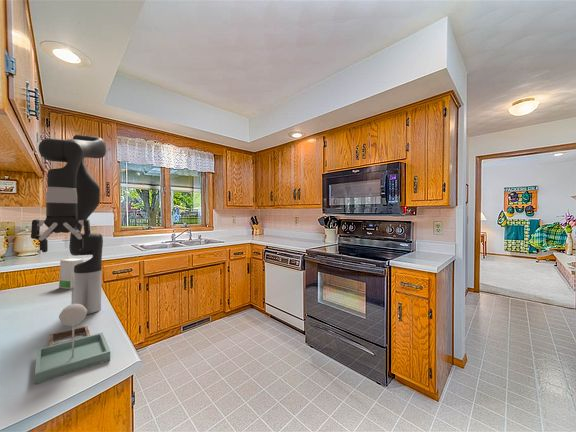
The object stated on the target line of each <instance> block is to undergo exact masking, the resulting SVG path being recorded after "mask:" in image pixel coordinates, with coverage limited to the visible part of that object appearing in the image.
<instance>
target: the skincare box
mask: <svg viewBox="0 0 576 432" xmlns="http://www.w3.org/2000/svg"><path fill="white" fill-rule="evenodd" d="M59 262H60V263H59V278H58V279H59V282H58V288H59V289H64V290H65V289H66V290H73V289H74V266H75V265H77V264H79V263H83V262H84V259H83V258H73V257H71V258H65V259H60V260H59Z"/></svg>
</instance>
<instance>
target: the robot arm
mask: <svg viewBox="0 0 576 432" xmlns="http://www.w3.org/2000/svg"><path fill="white" fill-rule="evenodd" d="M38 153H39V155H40V156H41V157H42V158H43V159H45V160H47V161H49V162H57V163H58V162H60V163H66V164H65V165H64V166H63V167H59V168H50V169H48V170H47V173H46V180H47V182H46V184H47V185H46V186H47V187H46V193H45V202H46V203H45V206H46V208H45V209H46V210H45V215H46V217H45V218H44V219H39V218H38V219H33V220H31V227H30V228H31V229H30V230H31V231H30V239H32V240H36V241H37V240H38V241H39V250H40V251H41V252H42V253H46V252H48V246H49V245H48V243H49V242H48V237H50V236H51V235H52V234H53V233H54V234H59V233H63V234H66V233H67V234H68V233H70V234H69V244H68V245H69V247H68V248H69V253H70V254H71V255H72V256H73V257H74V256H91V258H90V259H87V260H85V261H83V263H79V264H77V265H75V266H74V288H73V289H71V304H81V305H83V306H84V307H85V308H86V309H87V314H86V315H90V314H93V313H97V312H99V311H100V310H101V309H102V269H103V267H102V266H103V265H102V261H103V260H102V259H103V256H102V255H103V244H104V240H103V239H104V237H103V235H102V234H101V233H100V232H99V233H98V232H94V233H91V226H90V225H91V223H90V219H88V218H89V217H90V216H91V215H92V214H93V213H94V212H95V210H96V209H97V208H98V206H99V205H100V202H101V201H100V200H101V199H100V198H101V197H100V195H101V189H100V186H99V184H98V182H97V181H96V180H95V178H94V177H93V176H92V175H91V173H90V171H89V170H88V168H87V166H86V163H85V159H86V158H89V159H102V158H104V157H105V156H106V153H107V146H106V143H105V140H104V139H102V138H101V137H100V136H99V137H98V136H93V135H85V134H75V135H74V136H73V137H72V139H70V138H69V139H57V138H45V139H43V140H41V141H40V142H39V144H38ZM43 224H44V225H45V226H46V227H47V229H46V230H45V231H44V232H43V233H42V234H41V235H40V229H41V227H43ZM82 230H83V233H82ZM71 255H70V256H71ZM71 304H70V305H71Z"/></svg>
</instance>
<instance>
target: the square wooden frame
mask: <svg viewBox="0 0 576 432" xmlns="http://www.w3.org/2000/svg"><path fill="white" fill-rule="evenodd" d="M82 334H84V336H83V335H82ZM79 335H82V336H80V337H76V338H75V337H74V340H75V339H79V338H83V337H87V336H91V333H90V329H89V327H88V325H83V326H81V327H75V328H74V336H79ZM70 337H72V329H69V330H63V331H60V332H55V333H50V334H49V346H52V345H56V344H59V343H63V342H67V341H71V340H72V339H68V340H64V341H60V342H56V343H54V341H57V340H62V339H65V338H70Z"/></svg>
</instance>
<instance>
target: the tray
mask: <svg viewBox="0 0 576 432" xmlns="http://www.w3.org/2000/svg"><path fill="white" fill-rule="evenodd" d="M82 337H83V336H82ZM78 338H79V337H78ZM74 339H75V338H74ZM70 340H71V341H68V340H66V341H67V342H64V341H62V342H63V343H60V342H58V343H59V344H56V343H55V344H56V345H52V346H50V345H48V346H44V347H41V348H37V350H36V359H35V360H36V361H35V369H34V385H37V384H40V383H43V382H46V381H49V380H50V381H51V380H52V379H55V378H58V377H59V378H60V377H61V376H65V375H68V374H71V373H74V372H78V371H81V370H84V369H87V368H90V367H94V366H96V365H99V364H102V363H105V362H108V361H111V350H110V347H109V344H108V342H107V340H106V337H105V335H104V333H103V332H100V333H96V334H90V336H87V337H83V338H79V339H75V340H74V356H73V357H72V339H70Z"/></svg>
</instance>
